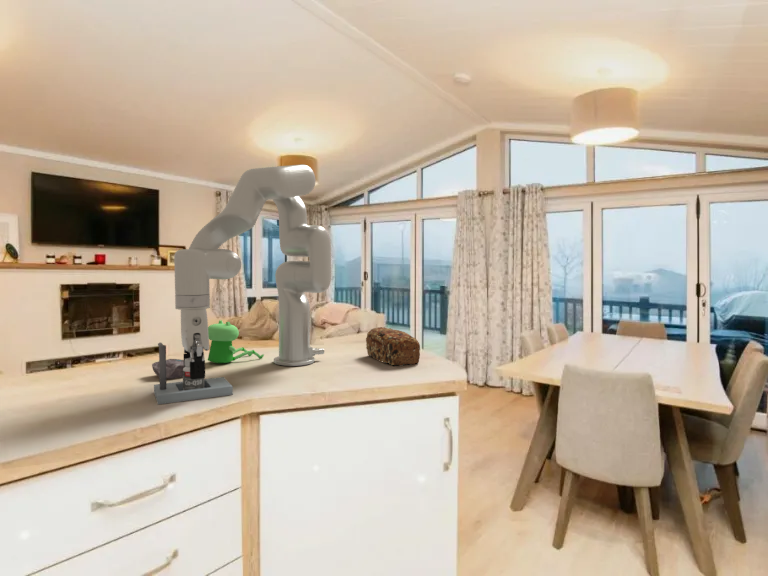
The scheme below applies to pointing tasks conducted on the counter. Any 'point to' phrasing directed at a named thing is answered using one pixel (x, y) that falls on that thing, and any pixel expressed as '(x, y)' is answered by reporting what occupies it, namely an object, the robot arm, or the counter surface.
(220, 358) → the toy character
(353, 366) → the counter surface
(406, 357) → the bread
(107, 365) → the counter surface
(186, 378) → the pill bottle
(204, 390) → the gray slotted post stand
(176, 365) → the rock
